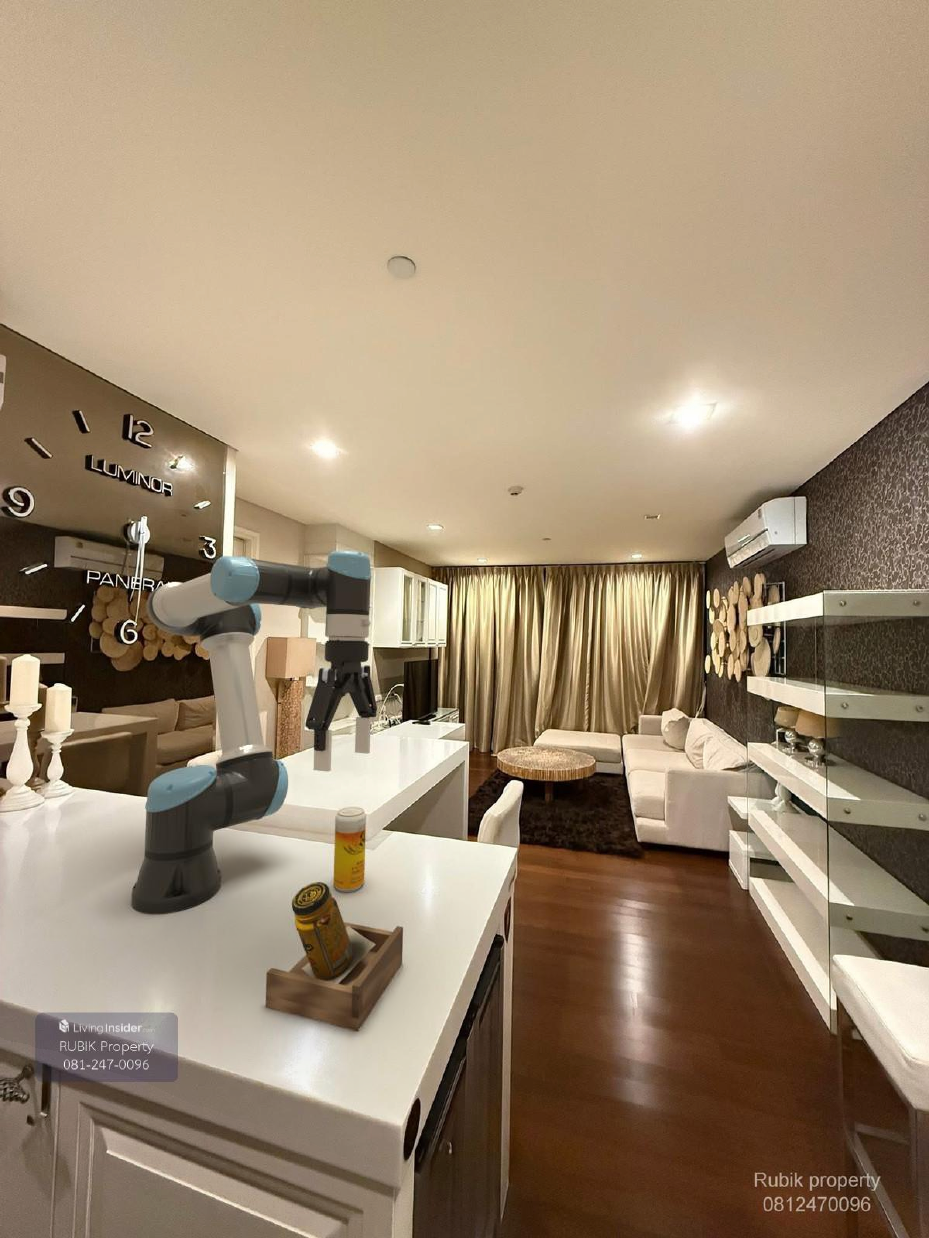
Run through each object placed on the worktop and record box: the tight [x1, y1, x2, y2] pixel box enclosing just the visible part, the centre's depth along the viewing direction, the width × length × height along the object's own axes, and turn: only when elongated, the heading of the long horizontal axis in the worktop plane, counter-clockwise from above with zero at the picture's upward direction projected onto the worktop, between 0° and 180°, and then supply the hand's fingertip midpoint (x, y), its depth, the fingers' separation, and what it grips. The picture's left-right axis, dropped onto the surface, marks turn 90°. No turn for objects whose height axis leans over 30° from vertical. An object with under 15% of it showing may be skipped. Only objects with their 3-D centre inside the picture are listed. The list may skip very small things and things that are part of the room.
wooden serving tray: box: [264, 921, 404, 1032], centre depth 72 cm, size 14×14×6 cm
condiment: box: [291, 881, 376, 984], centre depth 72 cm, size 7×8×12 cm
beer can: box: [333, 806, 367, 893], centre depth 101 cm, size 6×6×15 cm
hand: (343, 761), depth 87 cm, fingers open, 13 cm apart
